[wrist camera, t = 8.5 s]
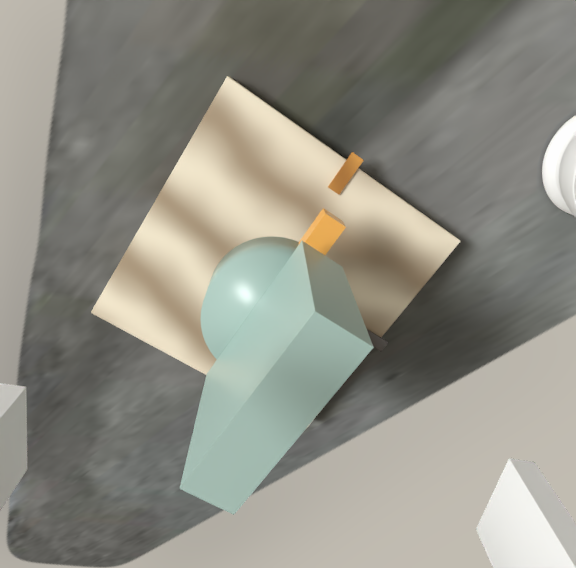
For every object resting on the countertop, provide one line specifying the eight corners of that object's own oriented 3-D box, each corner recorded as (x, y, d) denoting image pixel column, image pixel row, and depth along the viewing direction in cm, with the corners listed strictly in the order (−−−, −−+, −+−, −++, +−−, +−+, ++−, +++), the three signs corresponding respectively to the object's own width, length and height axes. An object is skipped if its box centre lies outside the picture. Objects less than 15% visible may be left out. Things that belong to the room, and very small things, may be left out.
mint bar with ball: (178, 324, 35) (121, 460, 22) (276, 175, 31) (278, 235, 18) (281, 382, 37) (285, 539, 24) (385, 249, 34) (455, 350, 21)
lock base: (235, 68, 35) (228, 64, 29) (463, 231, 39) (493, 253, 34) (99, 302, 41) (72, 334, 36) (310, 418, 46) (315, 461, 40)
